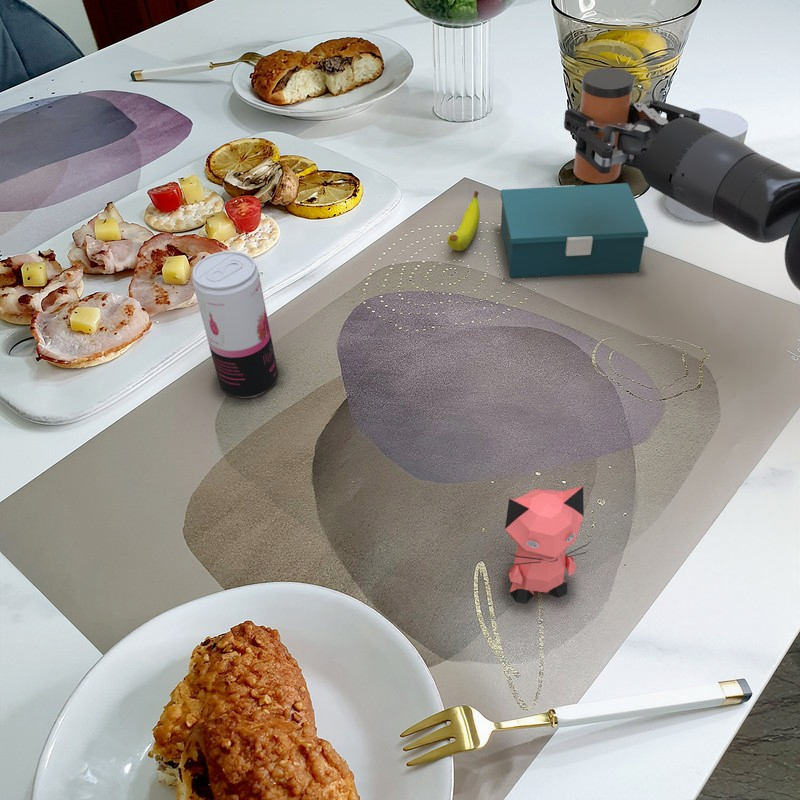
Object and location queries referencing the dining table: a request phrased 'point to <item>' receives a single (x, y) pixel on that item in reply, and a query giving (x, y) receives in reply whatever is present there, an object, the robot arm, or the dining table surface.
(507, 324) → the dining table surface
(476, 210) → the fruit
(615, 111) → the tea tin
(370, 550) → the dining table surface
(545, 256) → the lunchbox
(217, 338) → the beverage can
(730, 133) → the cup
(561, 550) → the cat figurine
